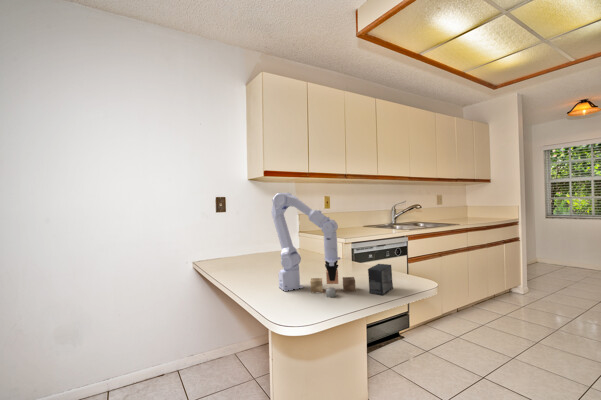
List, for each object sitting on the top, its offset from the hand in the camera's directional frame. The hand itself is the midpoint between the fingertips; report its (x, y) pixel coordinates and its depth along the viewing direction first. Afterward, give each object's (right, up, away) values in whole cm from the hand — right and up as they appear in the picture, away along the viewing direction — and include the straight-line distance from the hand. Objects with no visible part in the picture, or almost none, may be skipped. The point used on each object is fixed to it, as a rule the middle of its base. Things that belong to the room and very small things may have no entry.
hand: (332, 278), depth 129 cm
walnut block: (+7, -5, -1) cm, 9 cm away
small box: (+20, -4, -4) cm, 21 cm away
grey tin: (-1, -5, -7) cm, 9 cm away
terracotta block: (0, -2, 0) cm, 2 cm away
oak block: (-7, -6, +1) cm, 9 cm away
